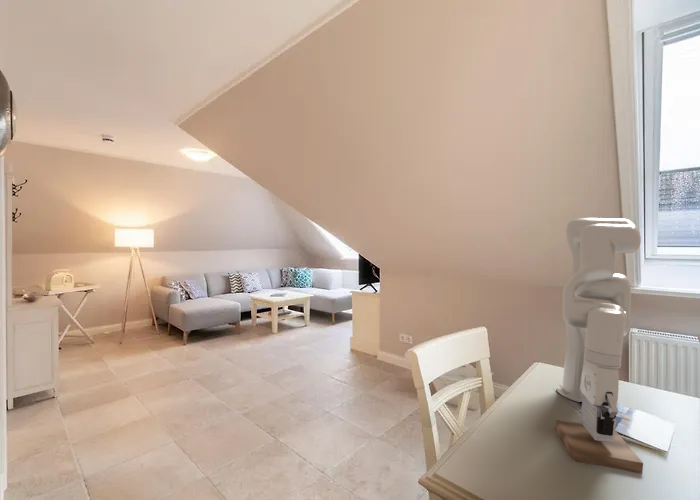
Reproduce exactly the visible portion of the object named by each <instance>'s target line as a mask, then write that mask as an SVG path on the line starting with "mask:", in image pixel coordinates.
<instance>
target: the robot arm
mask: <svg viewBox="0 0 700 500" xmlns="http://www.w3.org/2000/svg"><path fill="white" fill-rule="evenodd" d="M565 230H566V231H565V232H566V241H567V245H568V247H569V249H570V253H571V258H572V264H571V265H572V268H571V271H572V273H571V276H570V277H569V279H568V280H567V281H566V283H565V285H564V286H563V290H562V300H561V301H562V303H561V305H562V307H561V309H562V310H561V313H562V319H563V322H564V323H565V327H566V329H565V330H566V332H565V334H566V335H565V353H564V364H563V366H564V367H563V377H562V383H560V384H558V385H557V386H556V390H557V393H559V394H560V396H562V397H564V398H566V399H569V400H571V401H573V402H574V401H575V402H577V403H580V402H582V395H583V394H584V396H585V397H586V398H587V399H588V400H589V401H590V402H591V404H592V405H594V406H599V415H600V417H598V420H597V433H598V434H602V435H608V436H612V435H613V427H614V421H615V418H616V419H617V414H618V413H619V409H618V404H619V403H618V402H619V401H618V400H619V389H620V388H619V385H620V384H619V381H620V380H619V369H621V367H622V358H623V357H622V356H623V346H624V337H625V336H627V335H628V334H629V332H630V330H631V315H632V314H631V311H632V309H631V308H632V306H631V304H632V285H631V282H630V279H629V278H628V277H627V275H624V274H622V273H618V272H617V262H616V261H617V259H616V254H619V253H620V254H634V253H636V252H637V251H639V249H640V247H641V241H642V237H641V232H640V230H639V227H637V225H636V224H635V223H633V222H632V221H631V220H630V219H627V218H606V217H605V218H602V217H600V218H598V217H585V218H584V217H580V218H575V219H571V220H570V221H568V223H567V225H566V229H565ZM616 272H617V273H616ZM575 297H576V298H579V299H576V298H575ZM583 299H585V300H583ZM591 300H592V301H591ZM599 301H600V302H599ZM602 301H603V302H602ZM602 403H606V404H608V406H607V405H602ZM603 408H606V409H608V411H606V412H605V413H604V412H603Z"/></svg>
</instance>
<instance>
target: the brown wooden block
mask: <svg viewBox="0 0 700 500" xmlns="http://www.w3.org/2000/svg"><path fill="white" fill-rule="evenodd" d="M555 430H556V432H557V434H558V435H559V436H558V437H560V439H561V441H562V442H563V444H564V446H565V448H566V450H567V451H568V454H569V455H570V457H571V459H572V460H573V462H579V463H584V464H585V463H586V464H591V465H596V466H601V467H606V468H612V469H617V470H622V471H627V472H631V473H638V474H643V470H644V469H643V468H644V462H643V461H642V460H641V458H639V456H638V455H637V454H636V453H635V452H634V450H633V449H632V448H631V447H630V446H629V444H628V443H627V442H626V441H625V440H624V439H623V438H622V436H621V435H620V434H619V433H618V432H617V431H616V430H615V438H614V442H613V443H612V442H605V441H598V440H594V438H593V437H592V436H591V435H590V433H589V432H588V431H587V430H586V429H585V427H584V426H583V425H582V424H581V423H577V422H572V421H565V420H558V419H555Z"/></svg>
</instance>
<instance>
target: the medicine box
mask: <svg viewBox="0 0 700 500" xmlns="http://www.w3.org/2000/svg"><path fill="white" fill-rule="evenodd" d="M602 405H607V406H608V404H606V403H602ZM606 411H608V409H606V408H603V412H604V413H605V412H606ZM598 417H600V415H599V406H594V405H592V404H591V402H590V401H589V400H588V399H587V398H586V397H585V396H584V394H583V395H582V403H581V411H580V424H582V425H583V426H584V427H585V429H586V430H587V431H588V432H589V433H590V435H591V436H592V437H593V438H594V440H598V441H605V442H612V443H613V442H614V438H615V431H616V424H617V423H616V419H617V417H616V418H615V421H614V427H613V435H612V436H608V435H602V434H598V433H597V420H598Z"/></svg>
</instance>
